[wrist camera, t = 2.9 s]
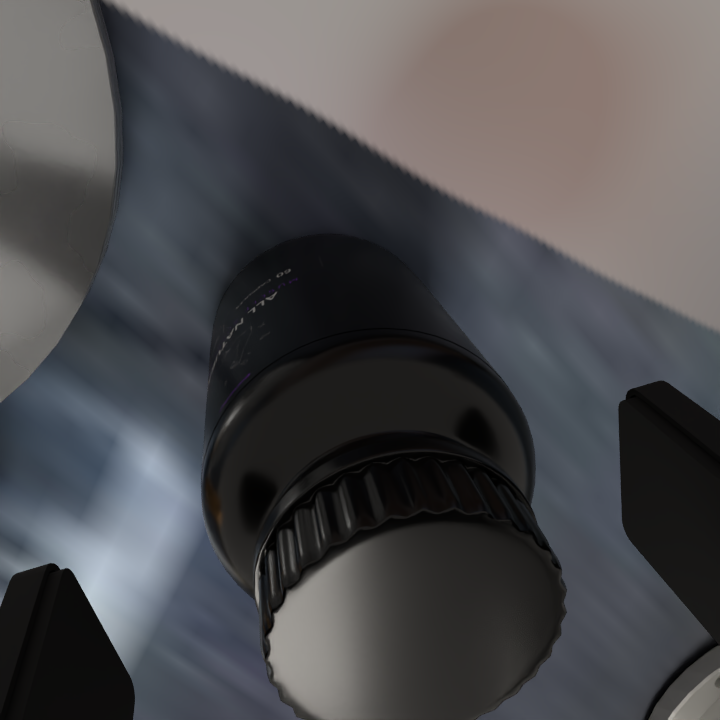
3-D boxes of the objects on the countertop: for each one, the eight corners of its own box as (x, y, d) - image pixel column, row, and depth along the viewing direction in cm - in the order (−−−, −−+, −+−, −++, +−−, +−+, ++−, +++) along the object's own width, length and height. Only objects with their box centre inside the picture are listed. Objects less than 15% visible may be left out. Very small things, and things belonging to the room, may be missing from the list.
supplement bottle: (201, 230, 19) (169, 453, 8) (435, 226, 20) (681, 415, 9) (217, 442, 22) (208, 820, 11) (421, 427, 23) (599, 754, 12)
